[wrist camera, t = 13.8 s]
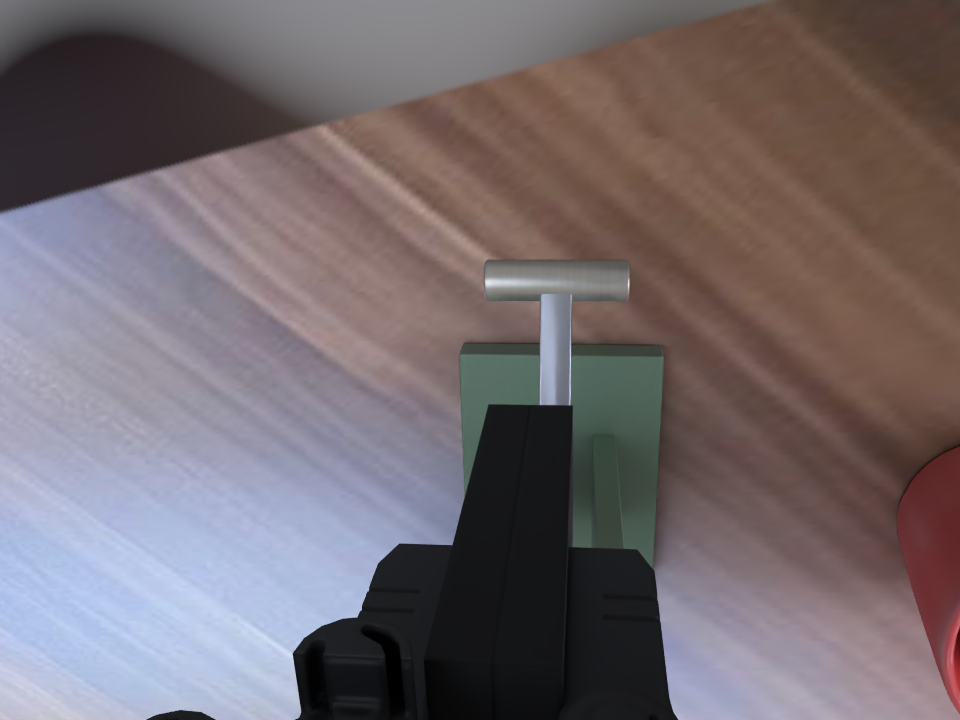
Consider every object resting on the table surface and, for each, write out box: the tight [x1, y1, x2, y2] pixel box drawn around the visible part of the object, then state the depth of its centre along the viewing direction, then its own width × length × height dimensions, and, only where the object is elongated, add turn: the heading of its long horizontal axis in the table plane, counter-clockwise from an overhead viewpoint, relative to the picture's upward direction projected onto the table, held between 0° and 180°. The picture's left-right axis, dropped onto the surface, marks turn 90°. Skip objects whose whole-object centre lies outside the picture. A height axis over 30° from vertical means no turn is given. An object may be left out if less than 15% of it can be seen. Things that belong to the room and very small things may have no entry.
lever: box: [484, 260, 630, 405], centre depth 30 cm, size 14×5×2 cm, turn 1°
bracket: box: [459, 343, 664, 569], centre depth 35 cm, size 12×9×14 cm
